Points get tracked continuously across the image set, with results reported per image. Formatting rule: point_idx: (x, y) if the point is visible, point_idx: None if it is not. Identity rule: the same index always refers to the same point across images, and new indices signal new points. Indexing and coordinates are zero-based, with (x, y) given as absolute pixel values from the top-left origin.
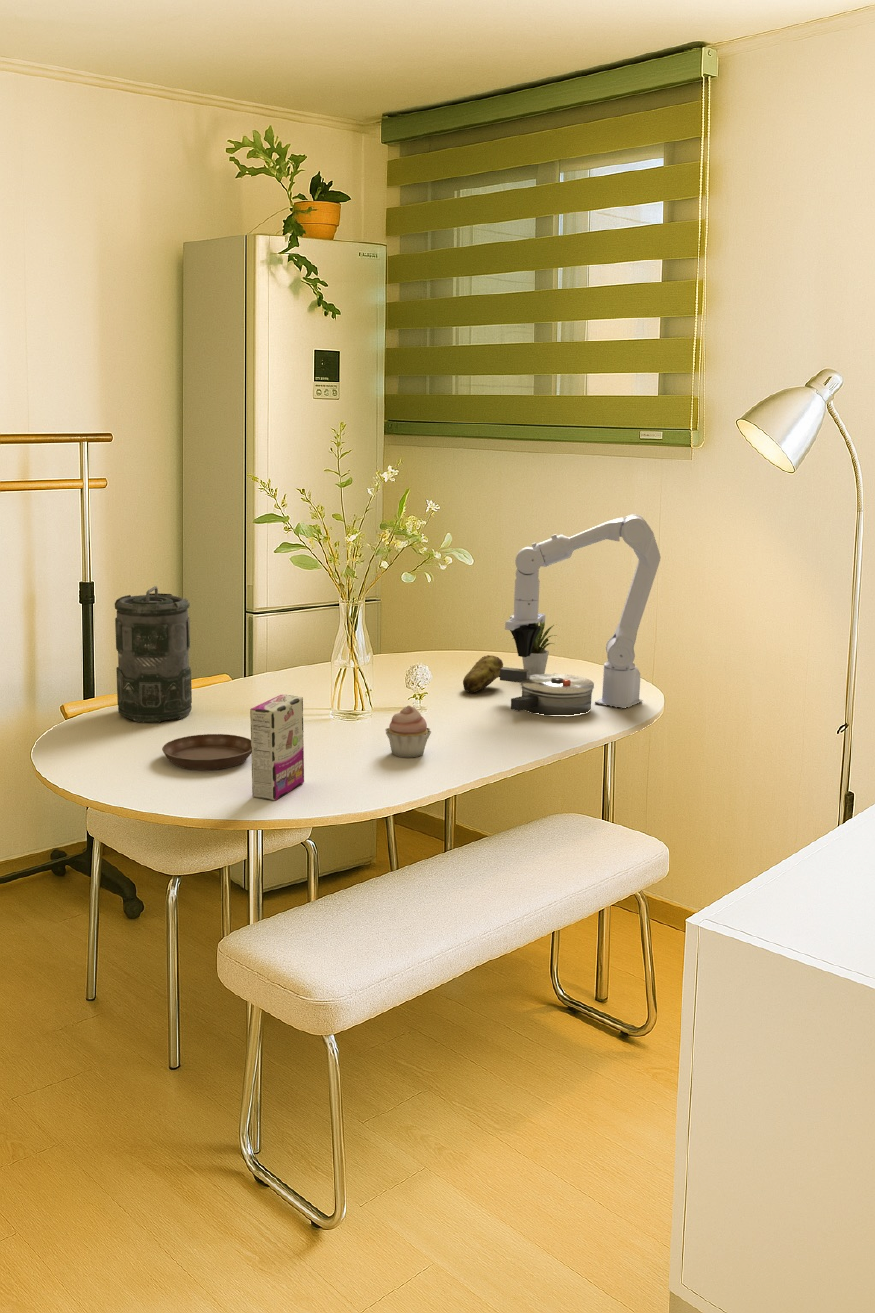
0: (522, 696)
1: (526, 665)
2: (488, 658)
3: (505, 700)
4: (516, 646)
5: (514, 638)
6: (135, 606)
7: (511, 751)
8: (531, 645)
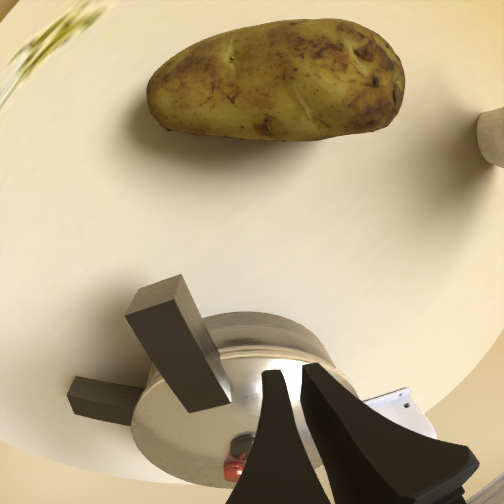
0: (106, 405)
1: (494, 126)
2: (326, 71)
3: (196, 253)
4: (260, 412)
5: (244, 466)
6: None
7: (5, 427)
8: (321, 455)
